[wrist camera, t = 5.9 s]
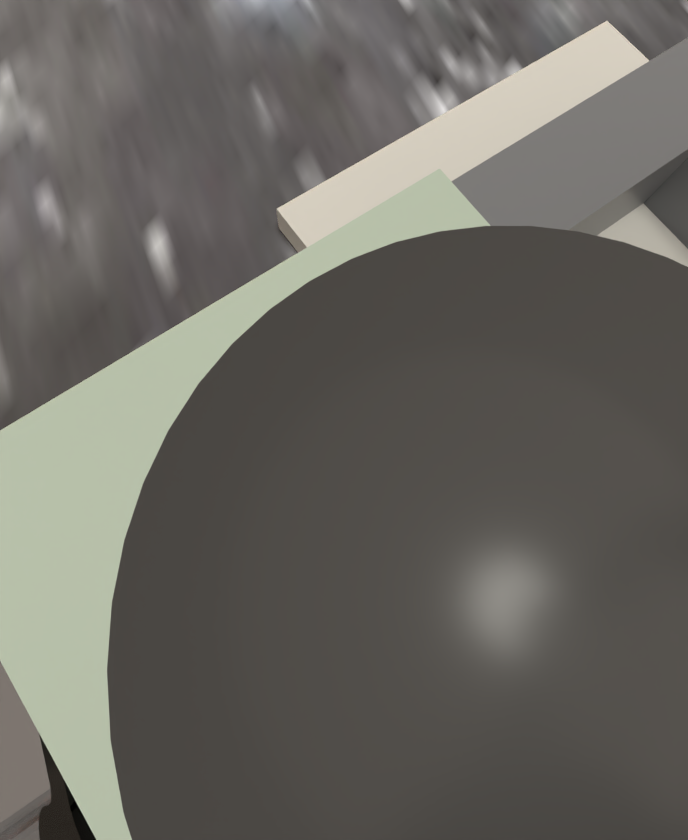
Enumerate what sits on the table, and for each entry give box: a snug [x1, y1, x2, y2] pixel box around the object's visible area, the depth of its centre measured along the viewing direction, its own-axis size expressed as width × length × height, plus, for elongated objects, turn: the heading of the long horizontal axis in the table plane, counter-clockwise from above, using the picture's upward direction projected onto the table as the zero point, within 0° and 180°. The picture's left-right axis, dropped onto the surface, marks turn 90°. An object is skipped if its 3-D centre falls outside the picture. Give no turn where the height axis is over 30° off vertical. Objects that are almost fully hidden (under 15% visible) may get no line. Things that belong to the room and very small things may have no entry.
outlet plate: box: [277, 21, 688, 267], centre depth 15 cm, size 20×16×4 cm
